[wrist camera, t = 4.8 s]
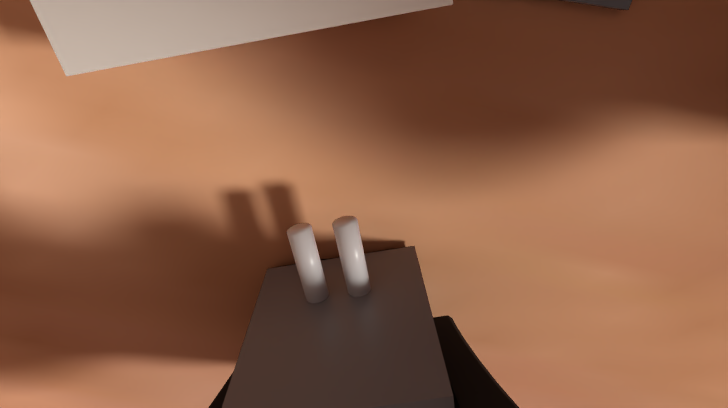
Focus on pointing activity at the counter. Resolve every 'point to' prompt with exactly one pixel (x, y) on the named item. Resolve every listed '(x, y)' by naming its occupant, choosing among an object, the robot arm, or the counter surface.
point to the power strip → (190, 25)
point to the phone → (605, 3)
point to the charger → (341, 332)
